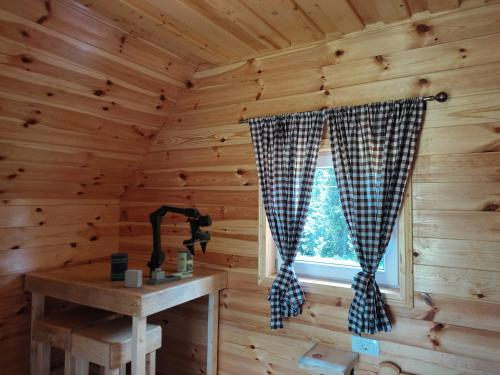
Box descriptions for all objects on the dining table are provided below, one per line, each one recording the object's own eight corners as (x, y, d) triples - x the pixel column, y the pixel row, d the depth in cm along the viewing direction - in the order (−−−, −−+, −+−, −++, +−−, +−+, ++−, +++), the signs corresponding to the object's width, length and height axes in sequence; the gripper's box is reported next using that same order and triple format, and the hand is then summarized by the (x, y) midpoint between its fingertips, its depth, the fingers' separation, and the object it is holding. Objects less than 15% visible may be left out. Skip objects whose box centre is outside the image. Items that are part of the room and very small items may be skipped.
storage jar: (107, 281, 211) (108, 255, 211) (113, 278, 220) (113, 253, 221) (125, 281, 211) (125, 255, 212) (129, 277, 221) (130, 253, 222)
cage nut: (151, 282, 209) (151, 268, 209) (159, 281, 213) (159, 267, 213) (156, 284, 206) (157, 269, 206) (164, 282, 209) (164, 268, 210)
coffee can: (191, 269, 248) (191, 248, 249) (193, 272, 238) (193, 250, 239) (176, 270, 245) (176, 249, 246) (177, 273, 235) (177, 251, 236)
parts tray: (171, 276, 224) (171, 274, 224) (183, 274, 231) (183, 272, 231) (180, 279, 218) (180, 276, 218) (192, 276, 225) (192, 274, 225)
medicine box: (142, 286, 201) (142, 270, 201) (137, 287, 196) (137, 271, 197) (129, 285, 203) (129, 269, 203) (124, 287, 198) (124, 270, 199)
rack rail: (145, 282, 208) (145, 279, 208) (171, 277, 222) (171, 274, 222) (155, 285, 202) (155, 281, 202) (181, 279, 216) (181, 276, 216)
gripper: (194, 228, 206) (198, 256, 204) (215, 225, 221) (219, 251, 220) (180, 231, 212) (184, 258, 210) (201, 227, 227) (205, 252, 226)
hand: (199, 254), depth 217 cm, fingers open, 9 cm apart
